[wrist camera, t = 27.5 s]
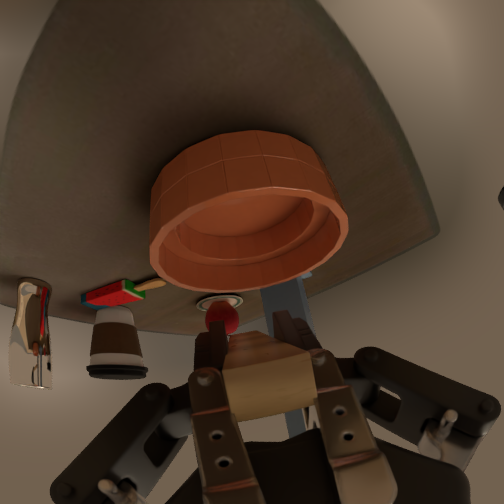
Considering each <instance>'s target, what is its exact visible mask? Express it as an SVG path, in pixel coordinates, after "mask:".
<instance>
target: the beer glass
mask: <svg viewBox="0 0 504 504" xmlns="http://www.w3.org/2000/svg"><path fill="white" fill-rule="evenodd" d="M51 294H52V288H51V286H50V285H49V284H47V283H45V282H43V281H41V280H38V279H34V278H22V279H19V280H18V282H17V307H16V313H15V317H14V321H13V326H12V330H11V336H10V342H9V371H10V383H11V384H15V385H19V386H25V387H31V388H39V389H48V390H49V389H50V390H51V389H52V352H51V351H52V350H51V341H50V334H49V325H48V306H49V302H50V298H51Z"/></svg>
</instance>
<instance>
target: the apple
mask: <svg viewBox="0 0 504 504" xmlns="http://www.w3.org/2000/svg"><path fill="white" fill-rule="evenodd" d="M242 302H243V300H242V298H241V297H238V296H234V295H220V296H214V297H209V298H206V299H203V300H201V301H200V302H198V303H197V308H198V309H200V310H203V311H207V313H206V318H205V323H206V327H207V329H208V331H209V322H211V321H218V320H224V323H225V329H226V334H227V335H228V334H230V333H233V332H234V331H236V329H237V327H238V324H239V317H238V313H237V311H236V310H235V309H234V307H237V306H239V305H240V304H241V303H242ZM228 336H230V335H228Z"/></svg>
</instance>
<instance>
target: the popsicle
mask: <svg viewBox="0 0 504 504" xmlns="http://www.w3.org/2000/svg"><path fill="white" fill-rule="evenodd" d="M165 284H166V281H165V280H163V279H162V278H156V279H153V280H149V281H146V282H144V283H142V284H140V285H136V284H134V283H133V282H131V281H129V280H127V279H125V280H122V281H119V282H116V283H113V284H111V285H108V286H105V287H102V288H99V289H97V290H94V291H91V292H88V293H86V294H83V295H81V304H82V305H85V306H87V307H90V308H92V309H95V310H99V309H104V308H108V307H112V306H116V305H120V304H124V303H128V302H132V301H136V300H141V299H144V298H145V290H146V289H152V288H156V287H160V286H163V285H165Z"/></svg>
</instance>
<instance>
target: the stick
mask: <svg viewBox="0 0 504 504" xmlns="http://www.w3.org/2000/svg"><path fill="white" fill-rule="evenodd" d="M228 345H229V348H228V353H227V355H226V356H225V360H224V364H223V369H222V374H223V379H224V383H225V388H226V392H227V397H228V401H229V406H230V410H231V413H234V414H235V417H236V420H237V422H242V421H248V420H253V419H258V418H263V417H268V416H272V415H277V414H281V413H286V412H290V411H294V410H298V409H302V408H305V407H309V406H313V405H314V402H313V398H316V397H317V390H316V384H315V379H314V373H313V368H312V362H311V357H310V353H309V352H308V351H305V350H303V349H300V348H298V347H295V346H293V345H290V344H288V343H285V342H283V341H280V340H278V339H276V338H273V337H271V336H268V335H266V334H264V333H261V332H259V331H251V332H246V333H240V334H234V335H230V338H229V342H228Z"/></svg>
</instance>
